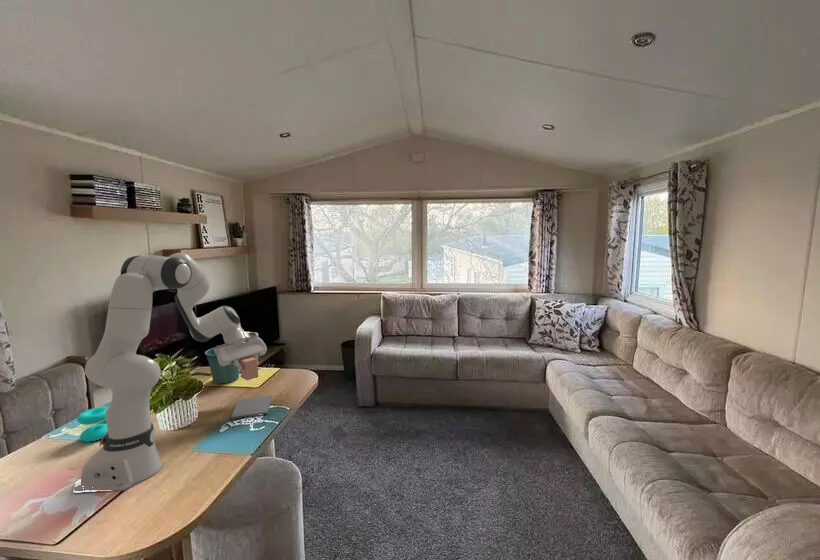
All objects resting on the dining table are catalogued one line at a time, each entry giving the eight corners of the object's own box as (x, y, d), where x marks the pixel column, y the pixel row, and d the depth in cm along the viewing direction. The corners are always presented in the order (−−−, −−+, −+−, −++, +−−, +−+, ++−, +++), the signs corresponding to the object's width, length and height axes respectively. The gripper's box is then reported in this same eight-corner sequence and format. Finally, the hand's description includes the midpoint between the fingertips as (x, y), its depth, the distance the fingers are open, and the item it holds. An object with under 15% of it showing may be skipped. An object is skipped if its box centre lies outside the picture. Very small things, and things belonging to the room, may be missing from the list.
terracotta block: (247, 380, 160) (245, 362, 159) (241, 377, 164) (239, 359, 163) (258, 376, 164) (256, 358, 163) (252, 374, 167) (251, 356, 166)
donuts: (75, 420, 137) (78, 410, 145) (79, 447, 139) (81, 435, 147) (110, 412, 143) (111, 403, 151) (114, 437, 145) (114, 427, 153)
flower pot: (205, 388, 188) (202, 356, 186) (210, 376, 204) (207, 347, 202) (241, 383, 194) (239, 352, 192) (244, 372, 209) (241, 343, 207)
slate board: (231, 419, 156) (231, 417, 156) (238, 401, 172) (238, 399, 172) (267, 414, 159) (267, 411, 159) (271, 397, 176) (271, 395, 175)
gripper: (214, 342, 158) (227, 370, 153) (260, 331, 174) (273, 356, 169) (210, 351, 162) (223, 378, 157) (256, 339, 177) (269, 364, 172)
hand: (249, 367), depth 163 cm, fingers closed on terracotta block, 5 cm apart
